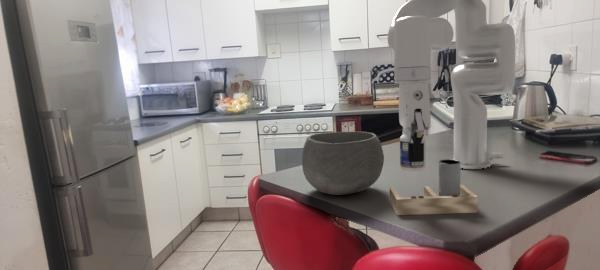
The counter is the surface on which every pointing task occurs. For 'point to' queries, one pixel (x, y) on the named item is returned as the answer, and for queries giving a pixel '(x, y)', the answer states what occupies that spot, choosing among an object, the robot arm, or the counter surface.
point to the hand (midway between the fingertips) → (412, 157)
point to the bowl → (342, 161)
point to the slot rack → (434, 203)
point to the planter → (449, 177)
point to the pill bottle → (404, 153)
